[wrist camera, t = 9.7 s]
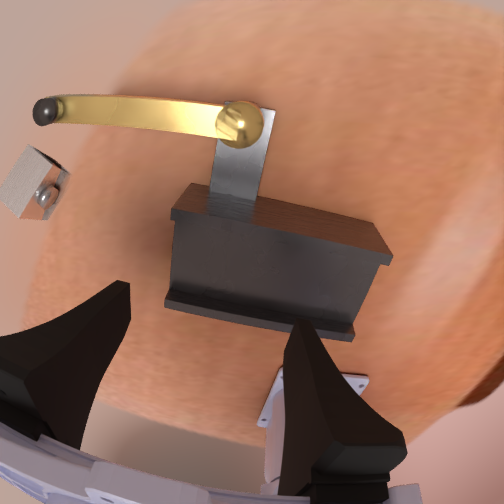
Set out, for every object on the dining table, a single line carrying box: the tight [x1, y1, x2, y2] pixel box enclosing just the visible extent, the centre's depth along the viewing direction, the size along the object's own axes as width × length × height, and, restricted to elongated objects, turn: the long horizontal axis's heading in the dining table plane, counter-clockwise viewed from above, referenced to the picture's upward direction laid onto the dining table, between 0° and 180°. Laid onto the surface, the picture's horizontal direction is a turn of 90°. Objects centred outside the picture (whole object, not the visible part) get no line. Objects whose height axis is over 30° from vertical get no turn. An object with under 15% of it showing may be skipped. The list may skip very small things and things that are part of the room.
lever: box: [33, 94, 264, 149], centre depth 11 cm, size 10×2×2 cm, turn 80°
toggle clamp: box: [164, 101, 393, 342], centre depth 17 cm, size 11×11×4 cm
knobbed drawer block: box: [0, 145, 70, 221], centre depth 19 cm, size 4×5×3 cm
